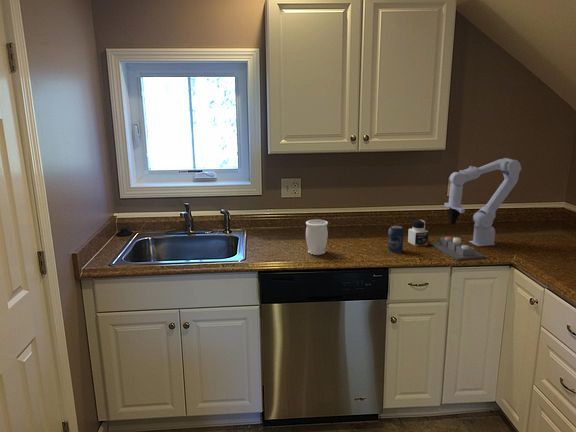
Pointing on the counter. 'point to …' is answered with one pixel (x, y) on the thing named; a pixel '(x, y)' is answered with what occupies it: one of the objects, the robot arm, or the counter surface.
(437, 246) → the keypad base
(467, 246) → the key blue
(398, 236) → the soda can
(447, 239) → the key red
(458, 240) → the key ivory
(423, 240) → the medicine bottle
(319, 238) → the jar
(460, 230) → the counter surface
